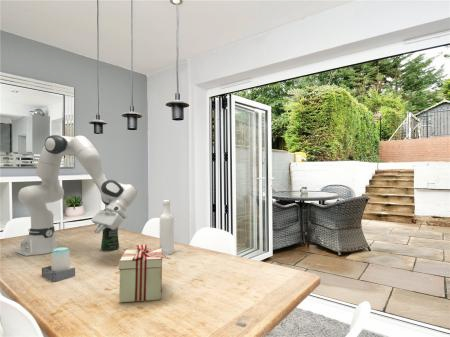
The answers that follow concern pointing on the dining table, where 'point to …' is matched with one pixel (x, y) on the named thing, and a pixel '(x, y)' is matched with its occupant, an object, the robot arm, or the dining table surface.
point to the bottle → (167, 230)
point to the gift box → (141, 274)
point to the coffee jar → (110, 239)
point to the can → (60, 259)
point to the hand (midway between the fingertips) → (95, 232)
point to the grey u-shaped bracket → (57, 274)
